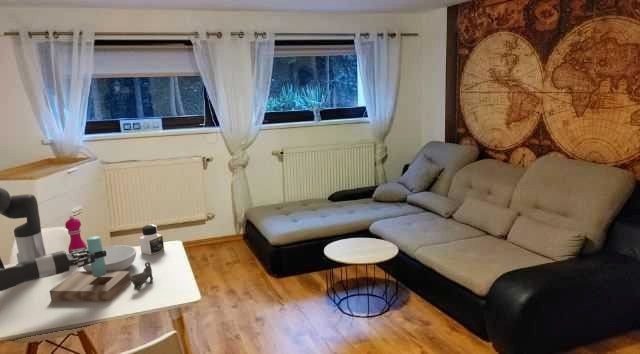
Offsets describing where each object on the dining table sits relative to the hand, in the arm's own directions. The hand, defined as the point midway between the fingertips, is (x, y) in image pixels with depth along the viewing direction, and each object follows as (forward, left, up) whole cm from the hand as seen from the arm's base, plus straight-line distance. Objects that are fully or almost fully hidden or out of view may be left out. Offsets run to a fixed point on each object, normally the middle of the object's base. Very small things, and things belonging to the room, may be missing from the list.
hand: (103, 251), depth 174 cm
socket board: (-6, -2, -15) cm, 16 cm away
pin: (-2, -2, -8) cm, 9 cm away
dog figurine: (+12, +2, -15) cm, 19 cm away
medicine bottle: (0, +35, -15) cm, 38 cm away
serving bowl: (-9, +16, -15) cm, 24 cm away
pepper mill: (-30, +27, -15) cm, 43 cm away
